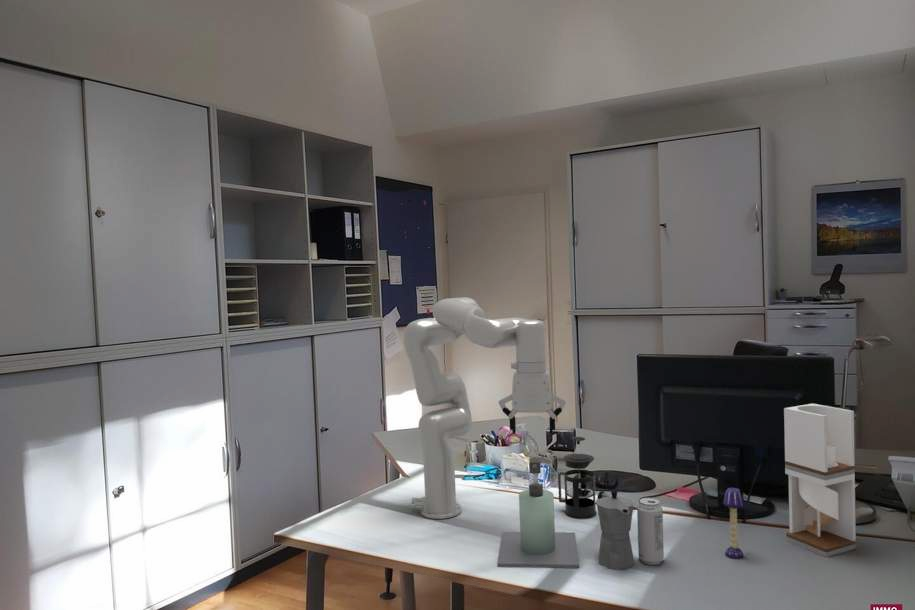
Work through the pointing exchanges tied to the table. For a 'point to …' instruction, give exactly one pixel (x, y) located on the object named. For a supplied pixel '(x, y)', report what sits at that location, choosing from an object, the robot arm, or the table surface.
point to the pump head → (535, 467)
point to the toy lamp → (733, 520)
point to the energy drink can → (650, 531)
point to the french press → (578, 486)
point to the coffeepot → (615, 531)
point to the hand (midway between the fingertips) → (532, 432)
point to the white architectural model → (820, 478)
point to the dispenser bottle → (537, 535)
